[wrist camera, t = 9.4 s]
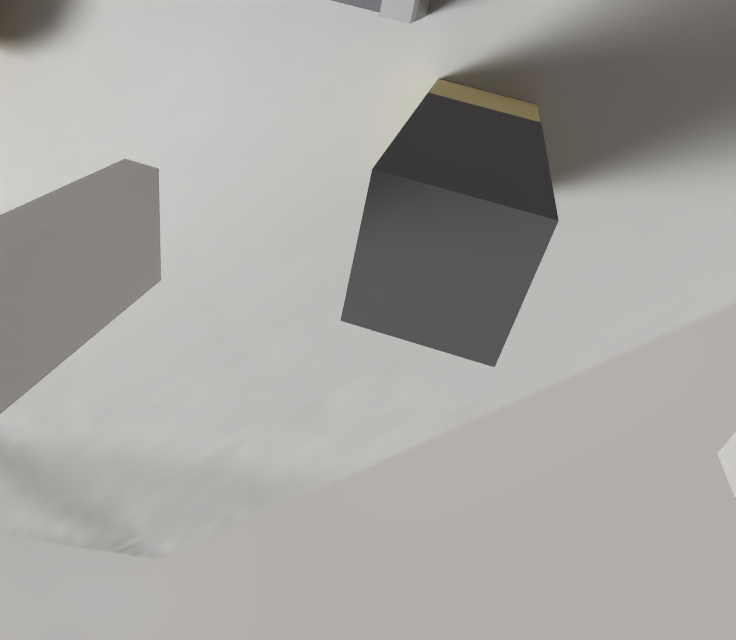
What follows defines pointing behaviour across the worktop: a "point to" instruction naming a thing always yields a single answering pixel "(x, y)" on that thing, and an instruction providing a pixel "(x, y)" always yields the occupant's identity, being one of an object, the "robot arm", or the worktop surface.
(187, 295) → the worktop surface
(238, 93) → the worktop surface
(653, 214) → the worktop surface
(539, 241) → the plug
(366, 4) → the grey slab
